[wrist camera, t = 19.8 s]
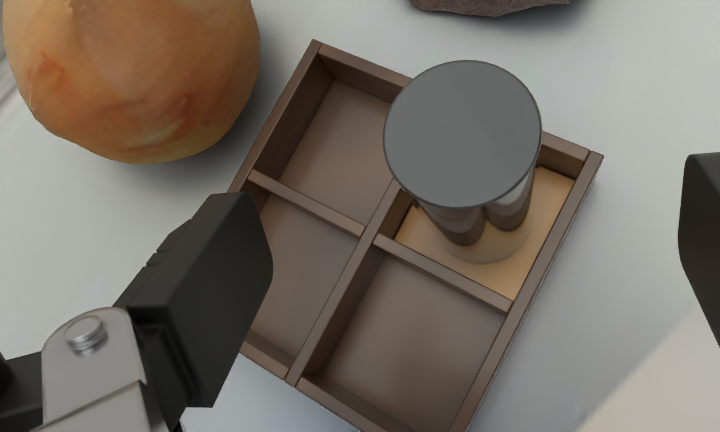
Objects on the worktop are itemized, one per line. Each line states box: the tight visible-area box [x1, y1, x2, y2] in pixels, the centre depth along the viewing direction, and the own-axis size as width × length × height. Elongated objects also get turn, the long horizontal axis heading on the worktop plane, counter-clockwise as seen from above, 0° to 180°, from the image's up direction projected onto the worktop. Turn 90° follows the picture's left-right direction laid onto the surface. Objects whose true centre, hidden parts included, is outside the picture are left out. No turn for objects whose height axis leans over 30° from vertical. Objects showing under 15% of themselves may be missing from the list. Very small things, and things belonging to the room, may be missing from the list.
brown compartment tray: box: [226, 39, 604, 432], centre depth 23 cm, size 12×12×3 cm
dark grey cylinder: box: [382, 60, 542, 263], centre depth 19 cm, size 4×4×9 cm
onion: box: [2, 0, 260, 164], centre depth 24 cm, size 10×10×10 cm
